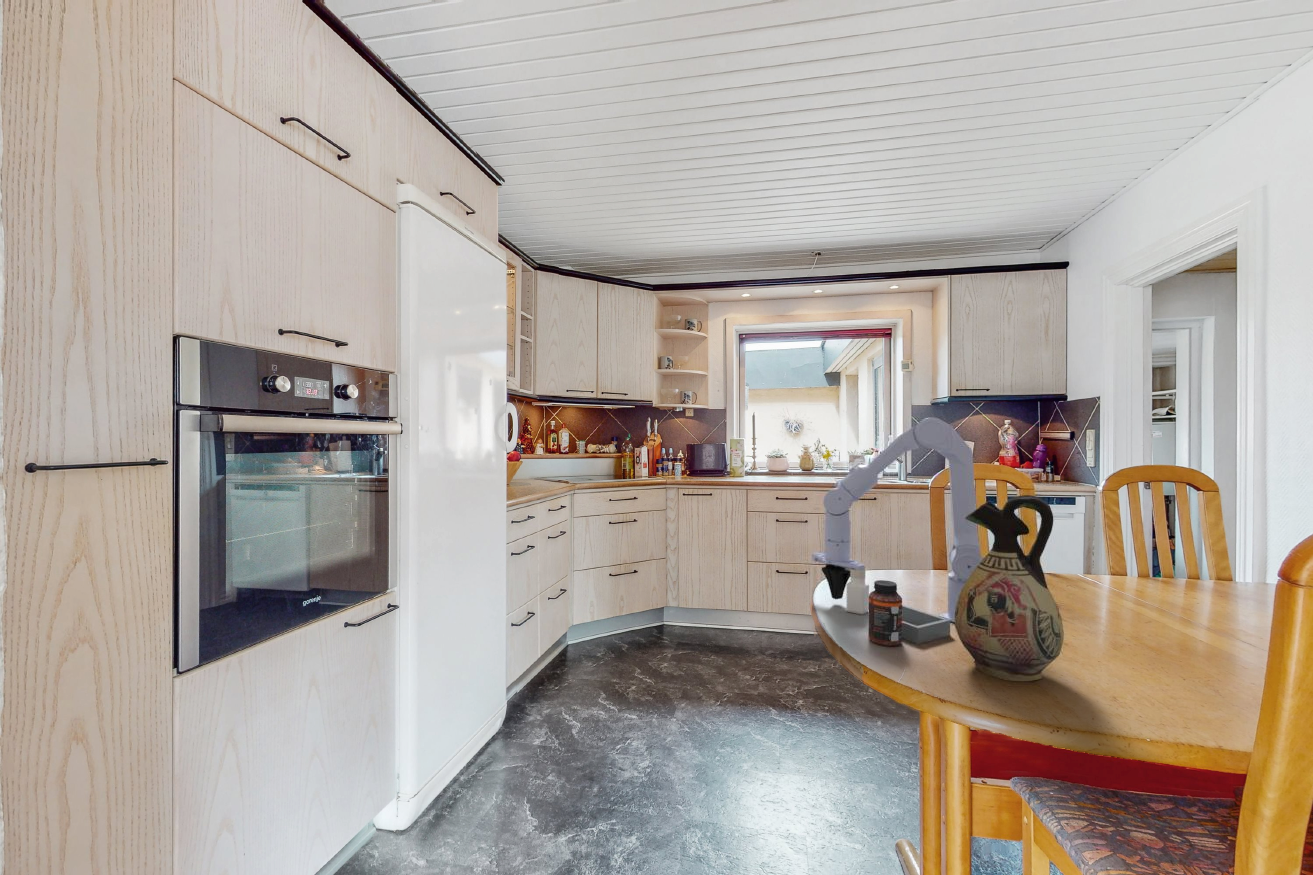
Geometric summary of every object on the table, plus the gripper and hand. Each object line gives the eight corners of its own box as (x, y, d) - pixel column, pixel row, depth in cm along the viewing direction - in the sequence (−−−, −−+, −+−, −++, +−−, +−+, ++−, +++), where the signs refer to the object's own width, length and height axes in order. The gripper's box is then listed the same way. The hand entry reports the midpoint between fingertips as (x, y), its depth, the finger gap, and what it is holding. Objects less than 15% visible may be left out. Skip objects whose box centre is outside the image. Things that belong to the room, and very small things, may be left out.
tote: (903, 619, 118) (903, 605, 118) (950, 635, 109) (950, 620, 109) (872, 626, 114) (872, 611, 114) (918, 643, 104) (918, 628, 104)
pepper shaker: (851, 607, 126) (852, 566, 126) (869, 611, 124) (870, 568, 124) (845, 611, 123) (845, 569, 123) (863, 615, 121) (863, 572, 120)
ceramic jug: (944, 673, 92) (945, 493, 91) (964, 646, 103) (965, 486, 103) (1072, 706, 81) (1074, 502, 80) (1078, 671, 93) (1080, 493, 92)
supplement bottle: (905, 648, 102) (905, 587, 102) (871, 645, 103) (871, 585, 103) (898, 636, 108) (898, 579, 108) (865, 634, 109) (866, 577, 109)
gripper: (802, 536, 133) (802, 592, 133) (849, 547, 120) (848, 609, 120) (824, 533, 136) (823, 588, 137) (871, 544, 124) (871, 604, 124)
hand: (837, 598), depth 129 cm, fingers closed
